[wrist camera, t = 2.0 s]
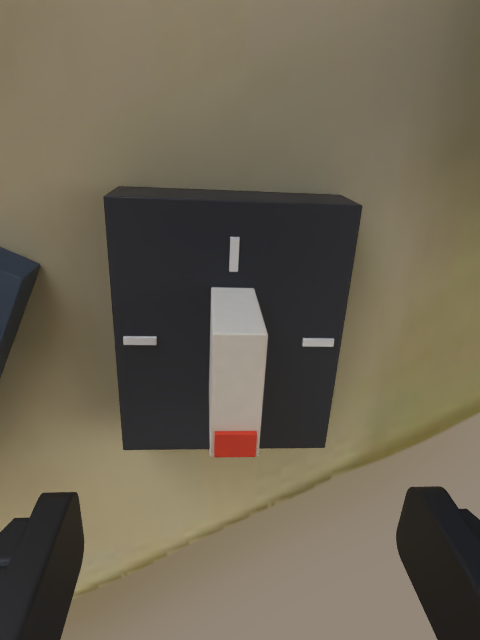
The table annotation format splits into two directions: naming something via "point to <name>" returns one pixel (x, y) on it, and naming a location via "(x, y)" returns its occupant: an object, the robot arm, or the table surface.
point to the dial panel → (195, 305)
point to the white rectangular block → (236, 372)
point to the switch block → (13, 296)
